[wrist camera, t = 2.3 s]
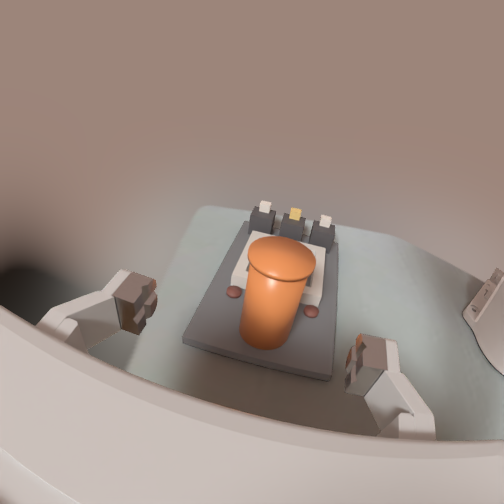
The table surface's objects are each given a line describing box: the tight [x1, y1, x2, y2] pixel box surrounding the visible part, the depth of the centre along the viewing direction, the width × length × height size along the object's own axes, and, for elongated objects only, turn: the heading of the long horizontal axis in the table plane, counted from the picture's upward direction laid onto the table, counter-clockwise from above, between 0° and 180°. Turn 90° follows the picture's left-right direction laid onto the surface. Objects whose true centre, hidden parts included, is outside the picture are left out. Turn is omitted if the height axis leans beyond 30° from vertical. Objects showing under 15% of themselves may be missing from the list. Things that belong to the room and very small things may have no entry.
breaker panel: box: [182, 201, 338, 381], centre depth 36 cm, size 23×14×5 cm, turn 166°
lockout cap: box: [239, 236, 316, 350], centre depth 27 cm, size 5×5×9 cm
